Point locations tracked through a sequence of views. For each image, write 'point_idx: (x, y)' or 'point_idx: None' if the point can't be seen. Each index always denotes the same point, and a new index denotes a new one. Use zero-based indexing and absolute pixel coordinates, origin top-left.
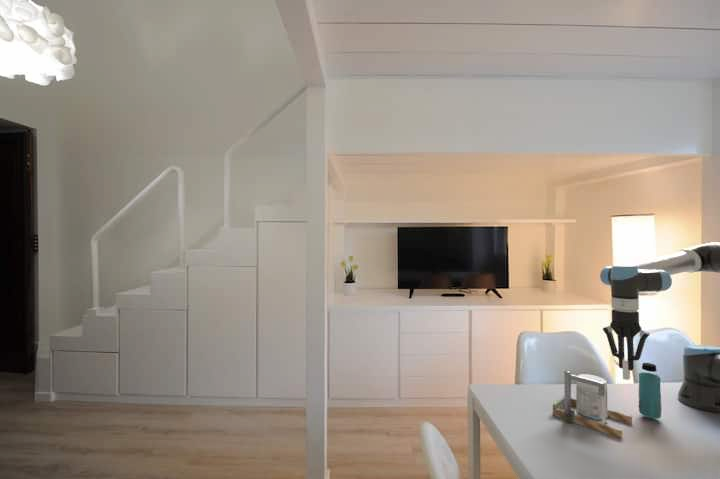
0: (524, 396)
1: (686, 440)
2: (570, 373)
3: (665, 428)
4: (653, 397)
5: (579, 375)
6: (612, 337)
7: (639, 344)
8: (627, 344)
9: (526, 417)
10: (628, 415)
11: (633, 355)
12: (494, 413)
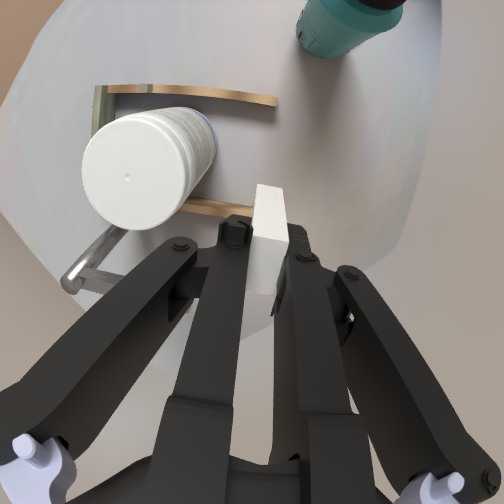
0: (36, 137)
1: (388, 130)
2: (79, 288)
3: (354, 82)
4: (351, 46)
5: (86, 168)
6: (99, 393)
7: (375, 429)
8: (274, 411)
9: (80, 243)
10: (268, 99)
11: (321, 279)
12: (47, 263)
